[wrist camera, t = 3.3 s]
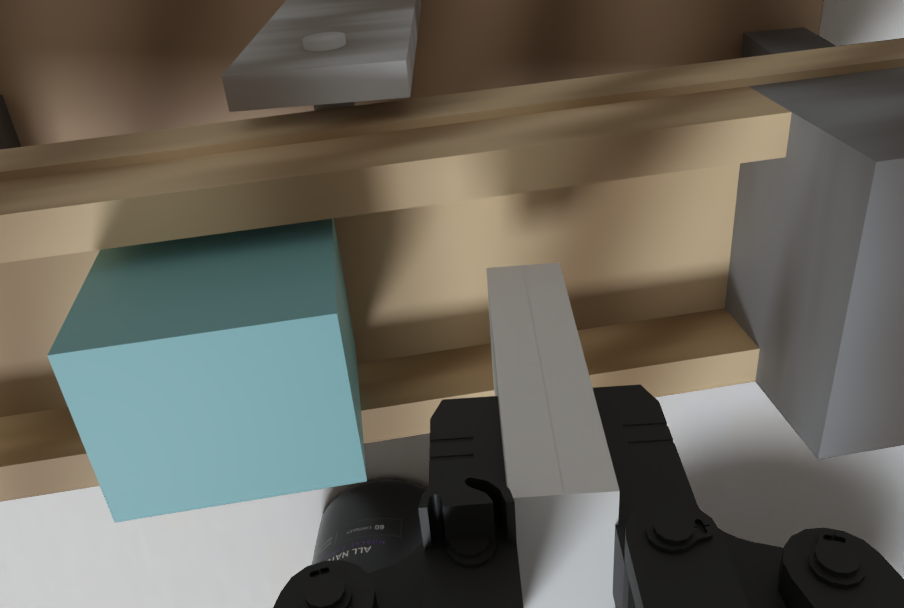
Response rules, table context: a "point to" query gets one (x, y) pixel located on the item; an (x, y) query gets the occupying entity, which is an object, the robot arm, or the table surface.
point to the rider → (214, 370)
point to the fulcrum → (340, 53)
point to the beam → (521, 237)
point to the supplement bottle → (371, 525)
